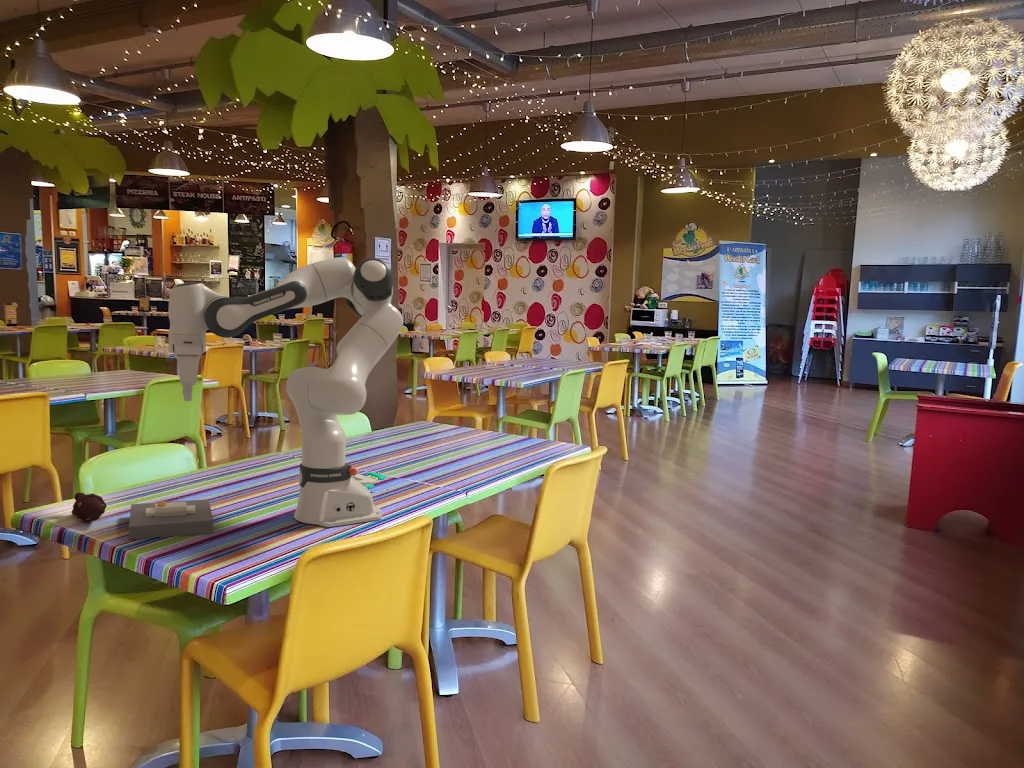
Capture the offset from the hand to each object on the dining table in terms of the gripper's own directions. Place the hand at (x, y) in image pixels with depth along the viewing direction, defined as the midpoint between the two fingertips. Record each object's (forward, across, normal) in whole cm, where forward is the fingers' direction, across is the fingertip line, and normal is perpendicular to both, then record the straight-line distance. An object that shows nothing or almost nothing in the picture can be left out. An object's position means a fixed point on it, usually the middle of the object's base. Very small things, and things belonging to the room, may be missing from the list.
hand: (187, 397), depth 194 cm
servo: (+29, +15, -4) cm, 33 cm away
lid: (+30, -14, +47) cm, 57 cm away
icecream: (+29, +7, -22) cm, 37 cm away
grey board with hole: (+29, +15, -4) cm, 33 cm away
